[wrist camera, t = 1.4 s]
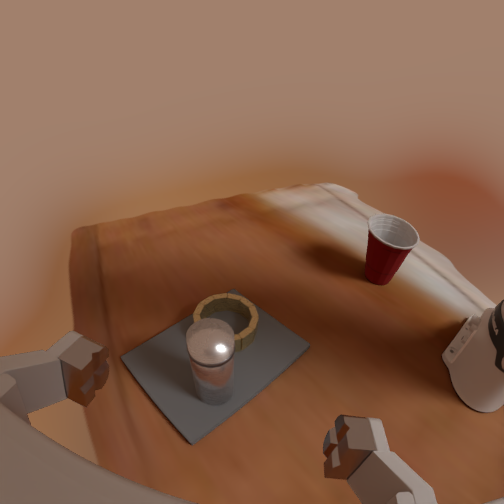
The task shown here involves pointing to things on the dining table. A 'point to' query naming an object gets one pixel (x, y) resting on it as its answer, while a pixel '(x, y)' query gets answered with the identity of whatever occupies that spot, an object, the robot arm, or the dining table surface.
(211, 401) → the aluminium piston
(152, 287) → the dining table surface
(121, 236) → the dining table surface
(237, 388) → the rubber mat
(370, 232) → the plastic cup
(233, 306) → the brass collar
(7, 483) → the robot arm
